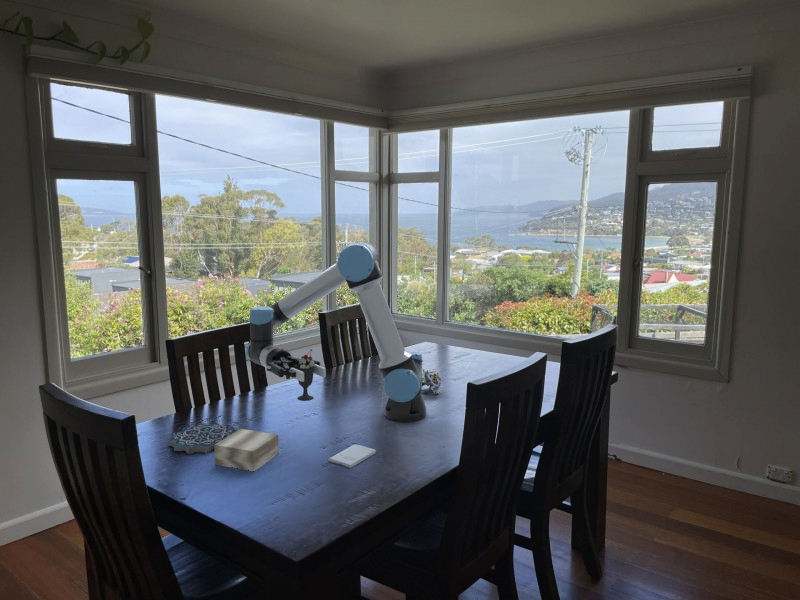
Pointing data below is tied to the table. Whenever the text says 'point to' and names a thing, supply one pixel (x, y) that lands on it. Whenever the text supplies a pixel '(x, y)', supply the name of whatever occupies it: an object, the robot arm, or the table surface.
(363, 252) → the robot arm
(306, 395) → the sundae
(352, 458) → the external hard drive
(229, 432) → the decorative tile
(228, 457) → the block
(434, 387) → the passion flower
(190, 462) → the table surface
